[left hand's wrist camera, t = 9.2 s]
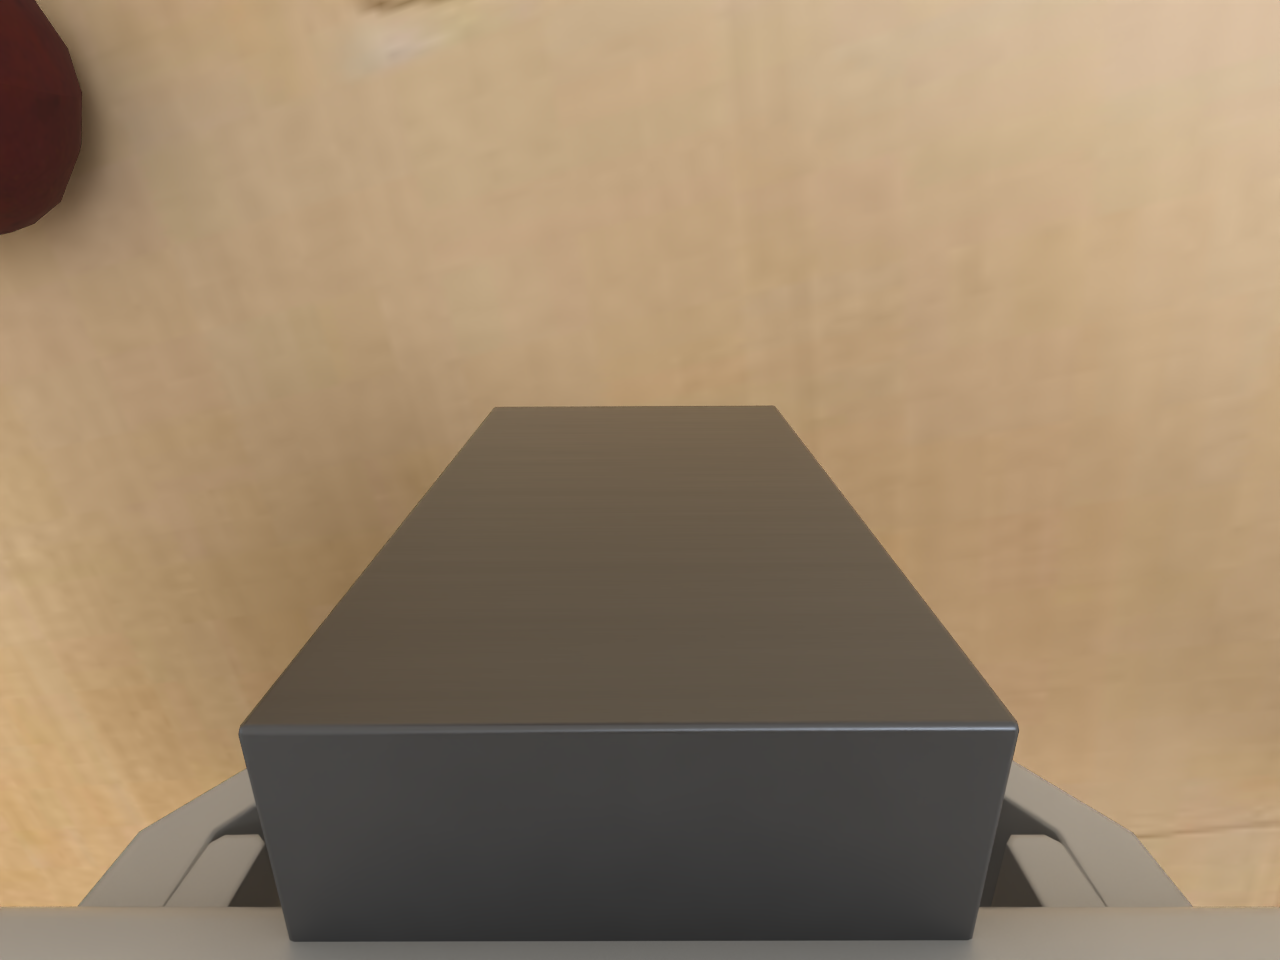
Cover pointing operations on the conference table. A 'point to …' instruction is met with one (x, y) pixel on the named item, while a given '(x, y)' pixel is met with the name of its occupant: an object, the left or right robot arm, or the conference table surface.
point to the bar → (630, 706)
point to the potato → (34, 115)
